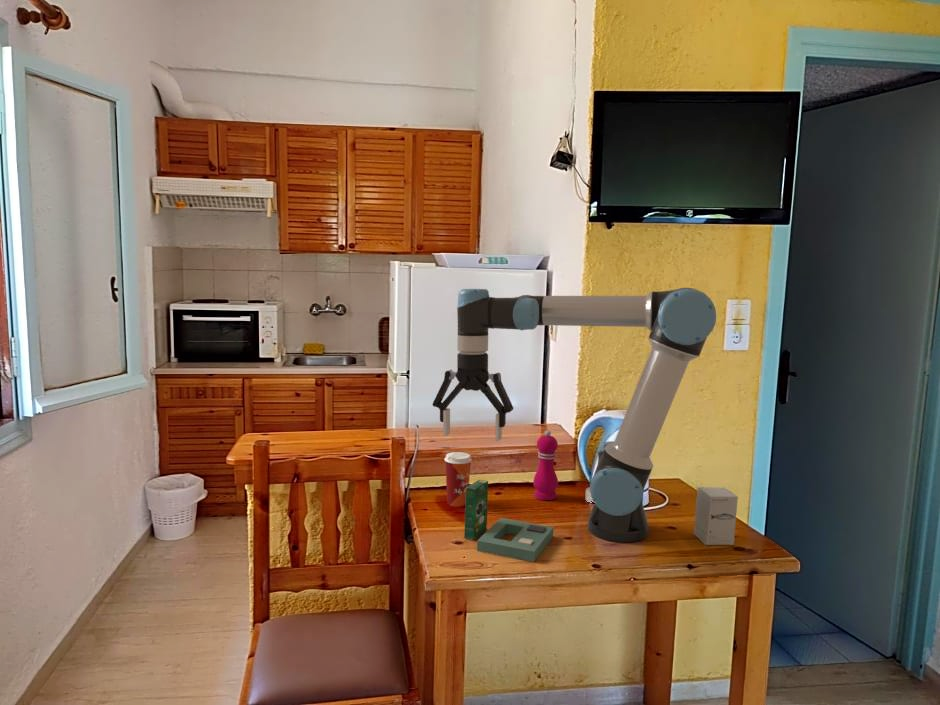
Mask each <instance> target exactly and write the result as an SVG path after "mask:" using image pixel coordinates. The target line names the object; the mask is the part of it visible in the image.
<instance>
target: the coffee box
mask: <svg viewBox="0 0 940 705" xmlns="http://www.w3.org/2000/svg"><path fill="white" fill-rule="evenodd" d="M488 492H489V481H488V480H484V479H478V480H476V481H474V482H473V483H471V484H469V486H468V487H466V501H465V506H464V507H465V508H464V509H465V510H464V539H465V540H469V541H474V540H475V539H478V537H479V536H481V534H484V532H487V531H488V529H487V528H488V503H489V502H488V498H489V497H488V496H489V493H488Z"/></svg>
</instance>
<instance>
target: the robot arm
mask: <svg viewBox="0 0 940 705" xmlns="http://www.w3.org/2000/svg"><path fill="white" fill-rule="evenodd" d="M456 309H457V341H456V343H457V345H456V347H457V348H456V349H457V351H458V353H457V356H456V357H457V360H456V362H457V365H456V366H457V369H456V370H457V371H453V369H449V370H446V371H444V378H443V381H442V384H441V385H440V387H439V390H438V392H437V394H436V396H435V398H434V400H433V402H432V406H433V407H434V408H438V409H439V422H441V423H442V427H443V428H442V429H443V430H442V431H443V433H442V434H443V437H447V436H449V435H450V434H451V408H448V407H449V405H450V404H451V403H452V402H453V401H454V400H455V399H456V397H457V396H458V395H459V394H460V392H461V391H462V390H465V391H473V392H474V391H475V392H478V391H480V392H481V393H482V394H483V395H484V396H485V398H487V399H488V401H489V402H490V403H491V405H492V406H493V408H494V409H495V411H496V412H498V413H495V438H494V439H495V442H499V441H501V440H502V432H503V431H502V428H504V427H505V426H506V423H507V422H506V417H507V416H506V415H507V414H509V413H510V412H512V411H513V410H514V406H513V404H512V402H511V399H510V397H509V395H508V393H507V391H506V388H505V387H504V385H503V382H502V376H501V374H502V373H500V372H496V373H489V354H488V353H487V352H488V351H489V329H491V330H492V329H497V330H498V329H500V330H519V331H526V330H532V331H533V330H535V329H536V328H537V326H562V327H563V326H569V327H570V326H571V327H572V326H574V327H575V326H576V327H622V328H623V327H626V328H627V327H635V328H637V327H638V328H642V327H643V328H647V330H648V331H650V333H649V336H648V341H649V342H650V345H651V349H650V352H649V355H648V357H647V359H646V361H645V364H644V366H643V369H642V372H641V373H640V374H641V375H640V376H639V379H638V382H637V384H636V387H635V389H634V392H633V395H632V397H631V399H630V401H629V404H628V407H627V409H626V411H625V414H624V416H623V419H622V421H621V424H620V426H619V429H618V432H617V434H616V435H615V439H614V441H613V440H612V441H602V442H601V443H600V444H599V445H598V450H597V454H598V455H597V456H598V458H597V464H596V468H595V471H594V474H593V476H592V477H591V480H590V482H589V487H590V493H591V497H592V499H593V501H594V503H595V504H594V506H592V509H591V512H590V513H589V517H588V520H587V530H588V531H589V532H590V533H591V534H592V535H593V536H595V537H598V538H600V539H602V540H606V541H611V542H618V543H634V542H639V541H643V540H645V539H646V538H647V537H648V536H649V522H648V519H647V515H646V512H645V508H644V490H645V487H646V485H647V482H648V479H649V478H650V475H651V473H652V470H653V468H654V464H653V462H652V460H651V455H652V452H653V450H654V447H655V445H656V443H657V440H658V438H659V436H660V433H661V432H662V428H663V426H664V423H665V421H666V418H667V416H668V414H669V411H670V408H671V407H672V404H673V401H674V399H675V397H676V394H677V391H678V389H679V387H680V384H681V382H682V380H683V378H684V375H685V372H686V371H687V368H688V365H689V362H691V361H692V360H695V359H698V358H699V357H700V355H701V353H702V350H703V348H704V346H705V343H706V341H707V338H708V337H709V336H710V335H711V333H712V332H713V330H714V327H715V325H716V322H717V312H716V311H717V310H716V307H715V304H714V302H713V301H712V299H711V298H710V297H709V296H708V295H707V294H706V293H705V292H703V291H700V290H698V289H696V288H693V287H680V288H676V289H671V290H661V291H650V292H649V293H647V294H646V295H531V294H530V295H529V294H523V295H519V296H515V297H493V296H490V292H489V290H488V289H487V288H463V289H460V290H459V291H458V294H457V307H456ZM455 378H456V380H457V381H458V383H457V384H456V385H455V387H454V389H453V390H452V391H451V392H450V393H449V395H448V396H446V398H445V399H444V397H445V395H446V393H447V391H448V389H449V387H450V385H451V383H452V380H454V379H455ZM489 380H490V381H491V382H492V383H493V385H494V388H495V390H496V392H497V394H498V396H499V398H498V397H497V396H496V394H495V393H494V391H493V390H492V389H491V387H490V385H489V384H488V381H489ZM499 399H500V400H499Z"/></svg>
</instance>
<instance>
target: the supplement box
mask: <svg viewBox="0 0 940 705" xmlns="http://www.w3.org/2000/svg"><path fill="white" fill-rule="evenodd" d="M696 491H697V492H696V503H695V504H696V505H695V516H694V529H693V534H694V536H695V537H697V538H698V539H699V541H701V542H702V543H703V544H704V545H705V546H717V545H718V546H719V545H721V546H724V545H726V546H727V545H728V546H733V545H734V544H735V534H736V521H737V509H738V499H739V497H738V495H737V494H735V493H733V491H731V490H729V489H728V488H726V487H725V486H724V487H723V486H721V487H719V486H718V487H717V486H715V487H712V486H711V487H710V486H709V487H708V486H707V487H706V486H705V487H704V486H703V487H701V486H699V487H697V490H696Z"/></svg>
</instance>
